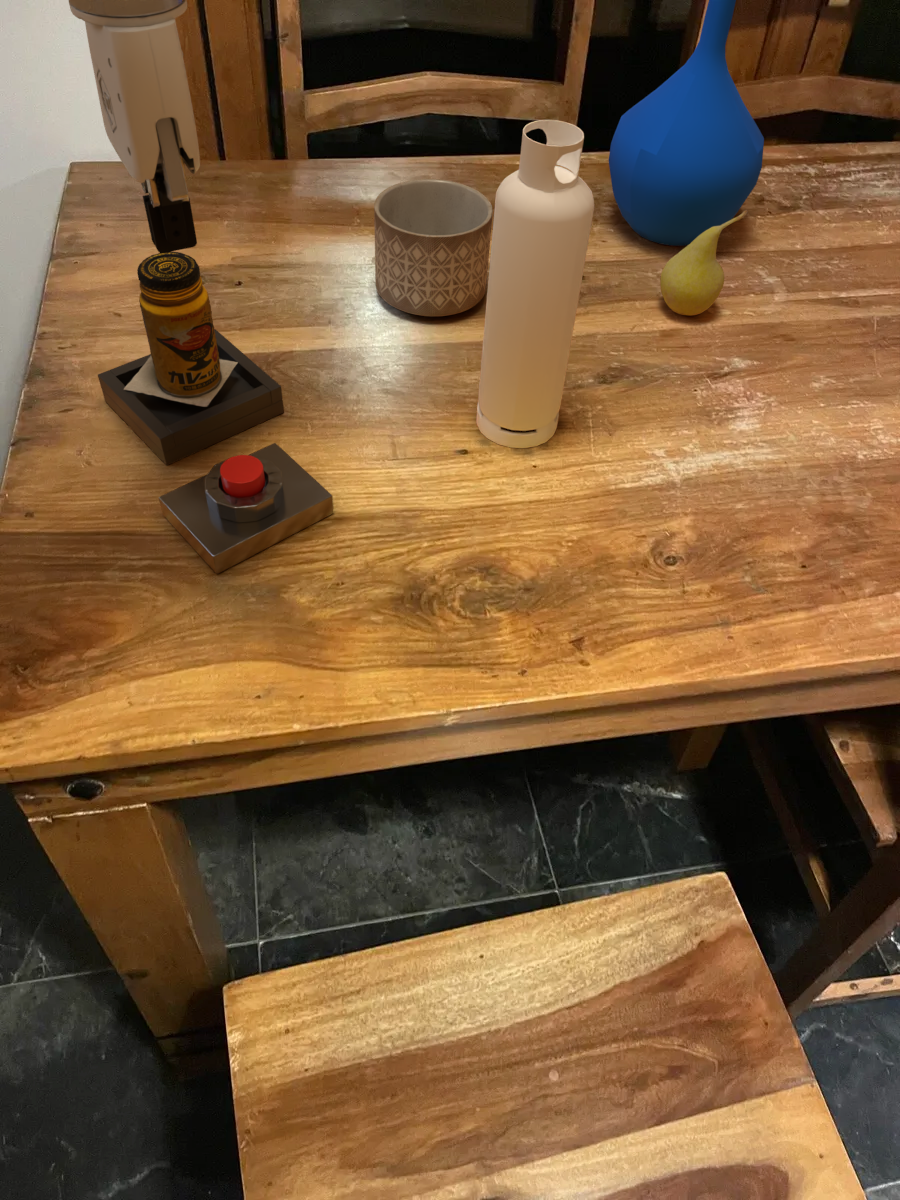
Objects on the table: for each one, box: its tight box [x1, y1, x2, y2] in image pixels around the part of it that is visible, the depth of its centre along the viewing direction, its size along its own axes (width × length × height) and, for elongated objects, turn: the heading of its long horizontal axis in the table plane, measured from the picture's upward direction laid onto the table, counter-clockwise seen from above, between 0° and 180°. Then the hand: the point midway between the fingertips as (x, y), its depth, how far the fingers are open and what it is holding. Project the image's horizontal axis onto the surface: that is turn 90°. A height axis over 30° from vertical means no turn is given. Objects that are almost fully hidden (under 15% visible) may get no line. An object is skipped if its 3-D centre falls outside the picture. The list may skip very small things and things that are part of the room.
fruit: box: [659, 209, 749, 316], centre depth 103 cm, size 7×8×12 cm
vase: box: [608, 0, 765, 247], centre depth 109 cm, size 18×18×30 cm
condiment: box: [124, 251, 238, 407], centre depth 85 cm, size 7×8×12 cm
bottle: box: [475, 119, 595, 449], centre depth 82 cm, size 8×8×28 cm
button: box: [220, 454, 265, 498], centre depth 79 cm, size 4×4×2 cm
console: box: [158, 442, 334, 575], centre depth 81 cm, size 12×9×4 cm
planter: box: [373, 178, 494, 317], centre depth 104 cm, size 13×13×10 cm
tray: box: [97, 328, 285, 466], centre depth 91 cm, size 13×12×3 cm
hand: (175, 244), depth 75 cm, fingers closed
